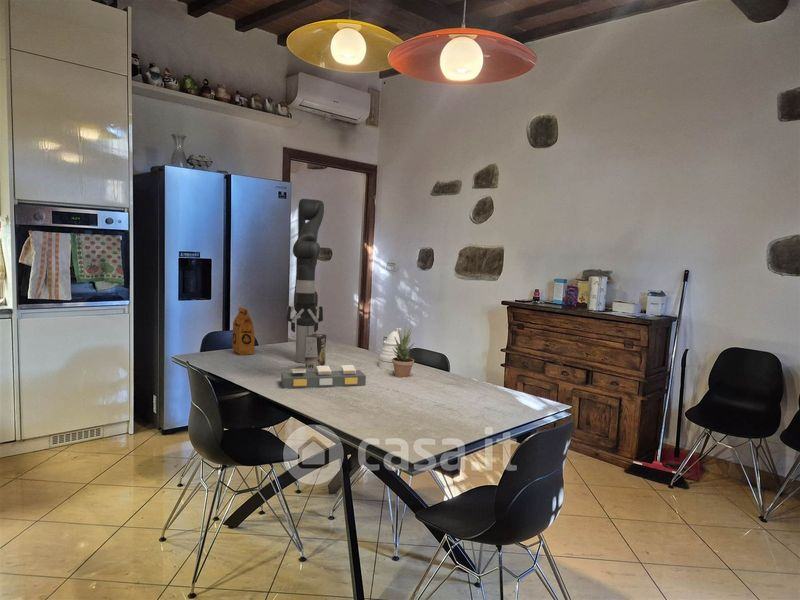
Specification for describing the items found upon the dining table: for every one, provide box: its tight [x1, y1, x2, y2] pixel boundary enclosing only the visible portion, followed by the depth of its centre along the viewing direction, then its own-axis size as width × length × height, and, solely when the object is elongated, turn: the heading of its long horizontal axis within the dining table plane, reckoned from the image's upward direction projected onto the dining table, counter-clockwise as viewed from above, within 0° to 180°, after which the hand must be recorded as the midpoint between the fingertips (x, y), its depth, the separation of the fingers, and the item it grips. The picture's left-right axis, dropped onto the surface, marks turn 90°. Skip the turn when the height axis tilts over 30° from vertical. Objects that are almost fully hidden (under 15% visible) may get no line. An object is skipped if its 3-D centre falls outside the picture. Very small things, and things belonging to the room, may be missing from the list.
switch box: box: [280, 369, 367, 389], centre depth 223 cm, size 11×32×4 cm, turn 108°
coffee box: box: [304, 333, 327, 372], centre depth 242 cm, size 9×6×16 cm
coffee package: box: [231, 306, 256, 356], centre depth 274 cm, size 10×12×22 cm
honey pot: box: [378, 327, 408, 371], centre depth 259 cm, size 13×13×18 cm
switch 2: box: [316, 365, 332, 375], centre depth 223 cm, size 6×5×1 cm
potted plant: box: [392, 322, 415, 378], centre depth 242 cm, size 10×10×25 cm
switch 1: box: [290, 368, 306, 373], centre depth 220 cm, size 6×5×1 cm
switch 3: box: [340, 364, 357, 374], centre depth 226 cm, size 6×5×1 cm
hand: (304, 331), depth 225 cm, fingers open, 8 cm apart
